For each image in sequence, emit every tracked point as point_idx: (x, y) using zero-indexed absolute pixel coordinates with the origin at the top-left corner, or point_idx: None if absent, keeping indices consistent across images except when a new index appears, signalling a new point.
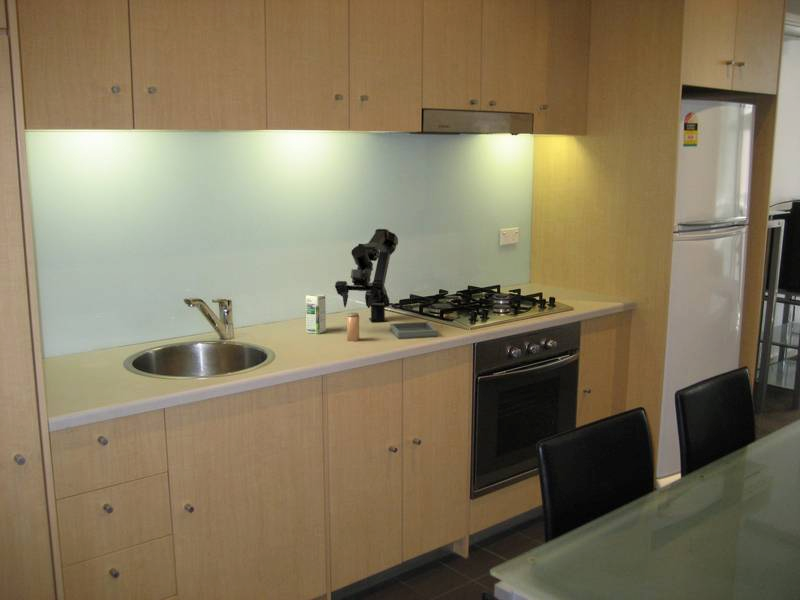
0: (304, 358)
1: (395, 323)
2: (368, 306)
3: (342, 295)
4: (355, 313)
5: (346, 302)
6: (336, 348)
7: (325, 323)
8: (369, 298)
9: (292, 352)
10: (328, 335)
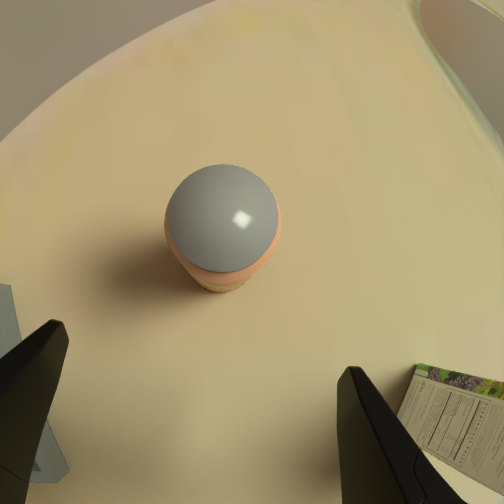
0: (352, 22)
1: (35, 480)
2: (52, 320)
3: (435, 471)
4: (198, 230)
5: (344, 450)
6: (280, 105)
7: (412, 437)
8: (1, 392)
9: (414, 79)
10: (370, 350)
